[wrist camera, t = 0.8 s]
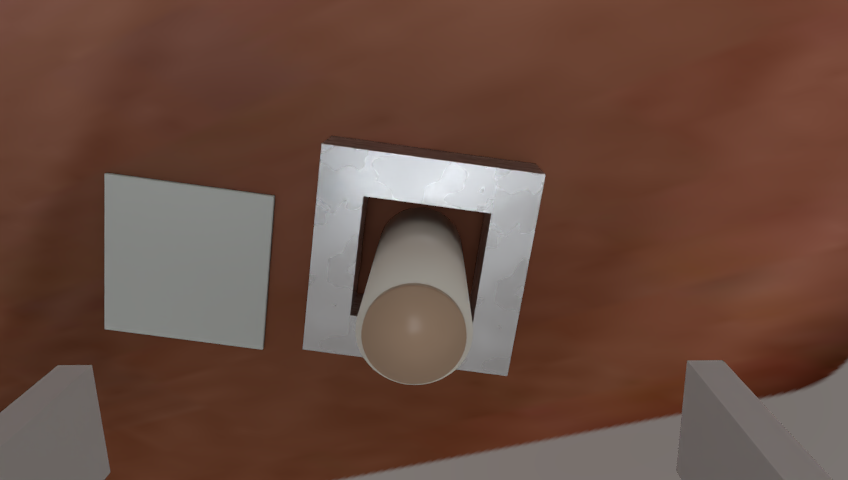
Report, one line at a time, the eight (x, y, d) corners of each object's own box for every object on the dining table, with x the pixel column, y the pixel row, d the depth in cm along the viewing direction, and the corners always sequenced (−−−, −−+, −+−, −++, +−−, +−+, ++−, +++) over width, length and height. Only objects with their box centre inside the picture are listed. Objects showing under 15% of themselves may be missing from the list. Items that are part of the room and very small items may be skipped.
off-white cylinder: (374, 280, 40) (348, 382, 28) (384, 201, 39) (360, 272, 27) (455, 291, 41) (464, 397, 28) (467, 213, 39) (482, 289, 27)
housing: (313, 325, 41) (302, 349, 38) (331, 135, 38) (321, 143, 35) (501, 349, 42) (507, 376, 38) (535, 163, 38) (545, 174, 35)
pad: (106, 327, 42) (104, 329, 41) (107, 172, 39) (104, 173, 39) (263, 347, 42) (262, 349, 42) (275, 195, 39) (274, 196, 39)
